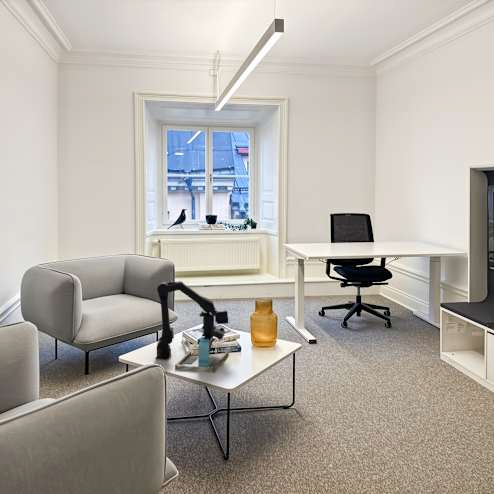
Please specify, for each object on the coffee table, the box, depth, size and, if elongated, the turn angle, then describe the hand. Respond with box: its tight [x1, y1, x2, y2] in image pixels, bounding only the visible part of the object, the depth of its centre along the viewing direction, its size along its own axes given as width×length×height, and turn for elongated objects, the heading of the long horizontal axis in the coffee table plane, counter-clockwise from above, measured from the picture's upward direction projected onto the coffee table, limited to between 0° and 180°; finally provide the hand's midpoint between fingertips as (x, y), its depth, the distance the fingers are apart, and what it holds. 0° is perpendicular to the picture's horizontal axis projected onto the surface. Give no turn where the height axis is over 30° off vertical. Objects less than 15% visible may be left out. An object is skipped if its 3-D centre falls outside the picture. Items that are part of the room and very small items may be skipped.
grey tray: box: [174, 350, 229, 374], centre depth 239 cm, size 20×26×2 cm
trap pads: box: [183, 356, 220, 367], centre depth 239 cm, size 17×9×1 cm, turn 77°
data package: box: [197, 338, 210, 367], centre depth 234 cm, size 12×4×12 cm, turn 0°
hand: (208, 352), depth 248 cm, fingers closed
